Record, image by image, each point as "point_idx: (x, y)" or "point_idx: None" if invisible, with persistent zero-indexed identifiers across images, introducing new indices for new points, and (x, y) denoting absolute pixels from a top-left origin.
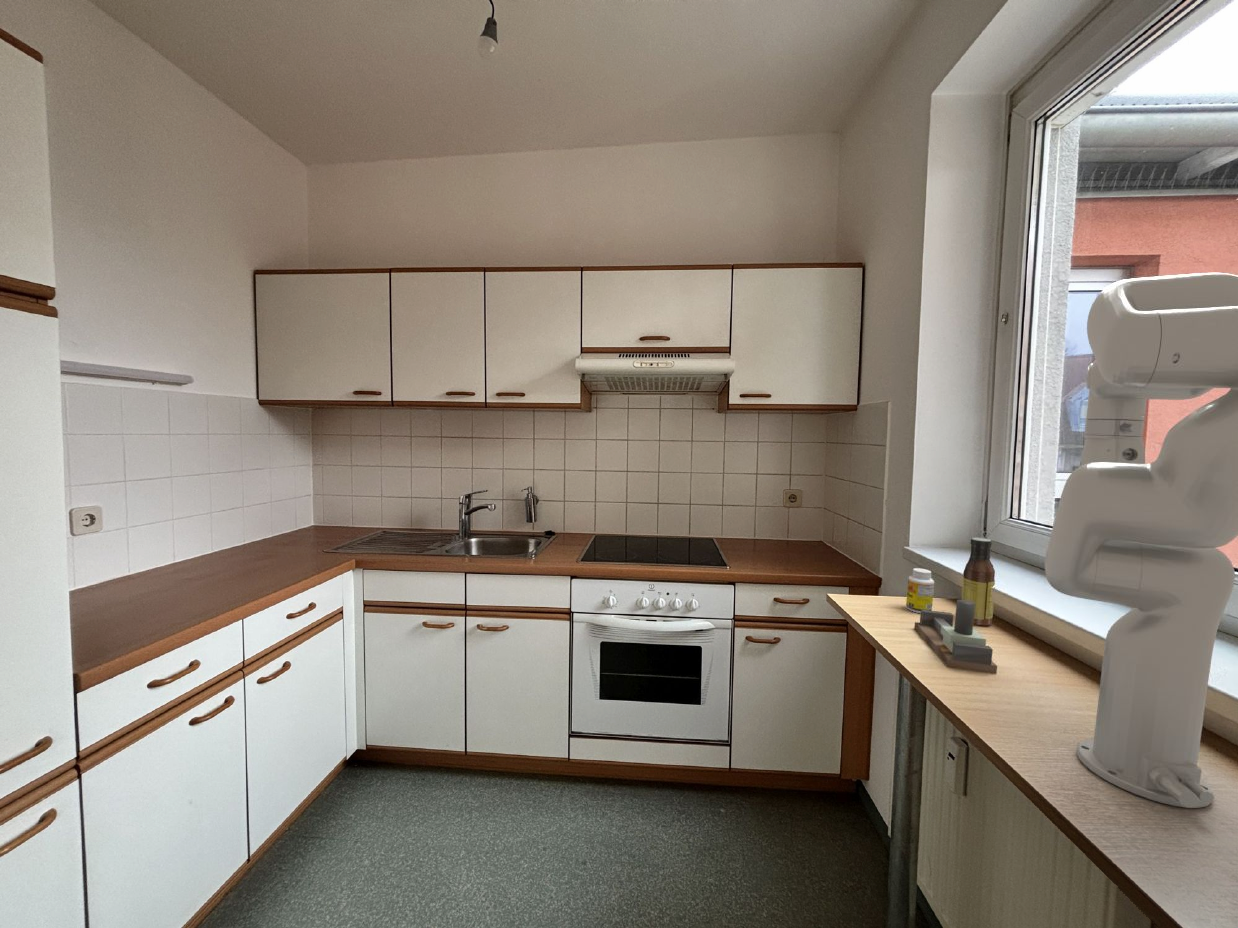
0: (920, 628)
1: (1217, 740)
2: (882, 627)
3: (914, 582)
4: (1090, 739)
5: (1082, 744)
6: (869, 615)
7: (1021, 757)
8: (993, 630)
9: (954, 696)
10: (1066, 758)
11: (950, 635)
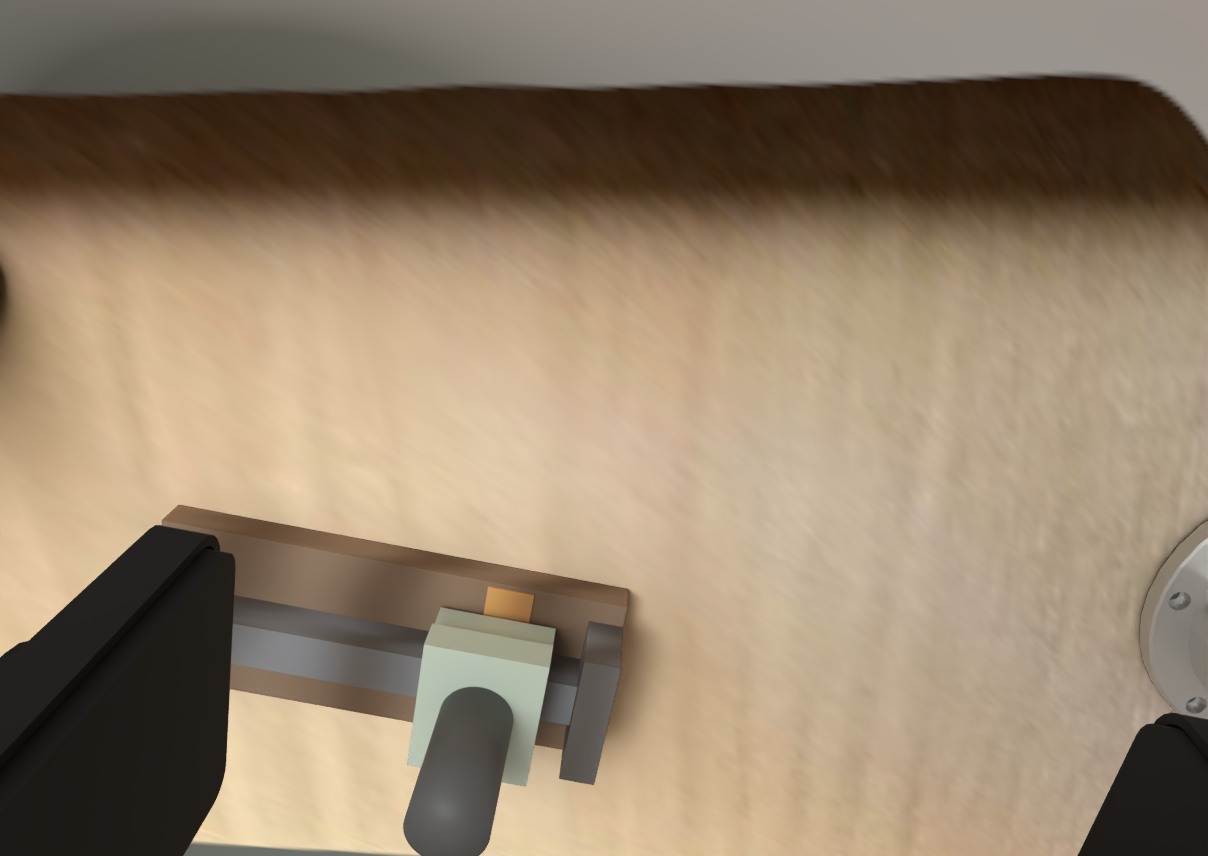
0: (243, 690)
1: (1148, 113)
2: None
3: None
4: (1157, 655)
5: (1179, 698)
6: None
7: None
8: (53, 259)
9: (826, 829)
10: None
11: (522, 783)
